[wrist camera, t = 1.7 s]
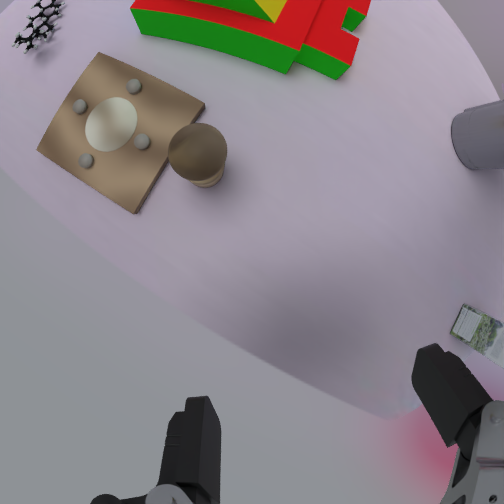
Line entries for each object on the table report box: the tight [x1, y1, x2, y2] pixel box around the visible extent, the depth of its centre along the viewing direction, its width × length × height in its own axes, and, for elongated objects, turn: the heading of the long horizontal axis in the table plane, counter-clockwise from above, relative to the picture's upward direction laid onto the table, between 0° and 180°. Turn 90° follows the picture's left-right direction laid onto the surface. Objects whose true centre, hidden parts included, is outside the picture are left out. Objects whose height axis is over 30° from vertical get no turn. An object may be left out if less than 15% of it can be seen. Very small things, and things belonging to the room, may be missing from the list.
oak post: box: [168, 123, 227, 188], centre depth 25 cm, size 4×4×12 cm
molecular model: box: [12, 0, 65, 54], centre depth 21 cm, size 15×6×6 cm, turn 6°
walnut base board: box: [36, 52, 205, 214], centre depth 27 cm, size 14×16×3 cm
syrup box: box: [450, 304, 504, 369], centre depth 32 cm, size 6×6×14 cm
